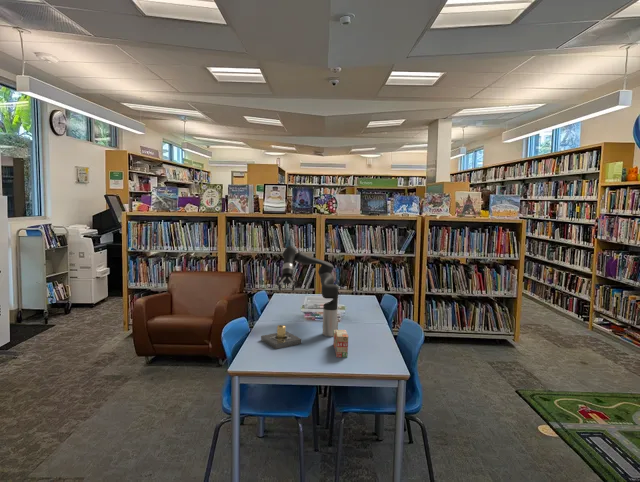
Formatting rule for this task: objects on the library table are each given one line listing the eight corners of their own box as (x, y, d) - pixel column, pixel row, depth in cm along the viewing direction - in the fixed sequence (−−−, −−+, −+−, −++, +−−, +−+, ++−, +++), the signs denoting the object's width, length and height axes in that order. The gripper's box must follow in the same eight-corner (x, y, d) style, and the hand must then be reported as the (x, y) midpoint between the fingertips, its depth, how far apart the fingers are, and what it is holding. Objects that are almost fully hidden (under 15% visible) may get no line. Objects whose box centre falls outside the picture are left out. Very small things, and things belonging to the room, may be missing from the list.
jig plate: (286, 335, 263) (286, 331, 262) (301, 343, 248) (301, 339, 248) (261, 340, 252) (261, 335, 252) (275, 349, 238) (275, 344, 237)
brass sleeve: (282, 340, 254) (282, 324, 253) (286, 342, 250) (287, 326, 249) (275, 341, 251) (275, 325, 250) (279, 343, 247) (280, 327, 246)
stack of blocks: (333, 344, 249) (333, 324, 248) (343, 344, 249) (343, 325, 248) (336, 357, 228) (337, 336, 227) (347, 357, 228) (348, 336, 227)
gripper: (298, 274, 289) (296, 293, 278) (277, 273, 288) (276, 293, 278) (297, 267, 283) (296, 287, 272) (277, 267, 283) (275, 286, 272)
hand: (286, 290), depth 275 cm, fingers open, 8 cm apart
